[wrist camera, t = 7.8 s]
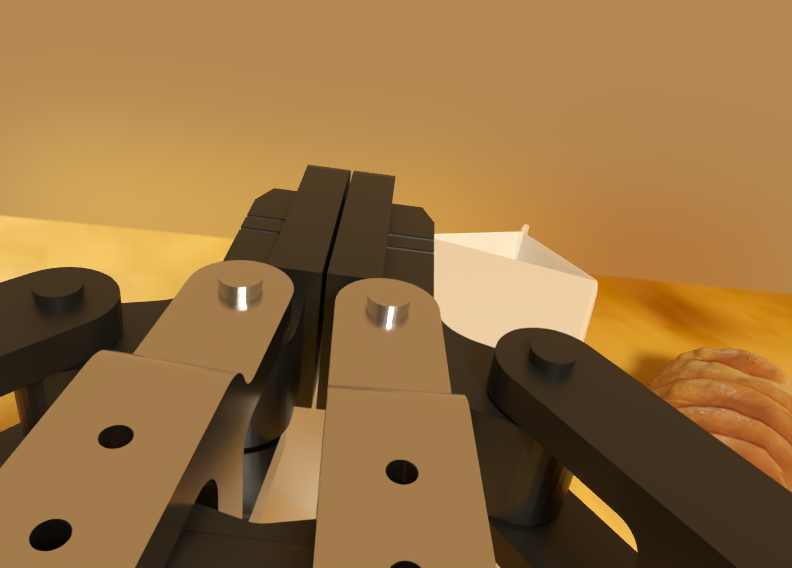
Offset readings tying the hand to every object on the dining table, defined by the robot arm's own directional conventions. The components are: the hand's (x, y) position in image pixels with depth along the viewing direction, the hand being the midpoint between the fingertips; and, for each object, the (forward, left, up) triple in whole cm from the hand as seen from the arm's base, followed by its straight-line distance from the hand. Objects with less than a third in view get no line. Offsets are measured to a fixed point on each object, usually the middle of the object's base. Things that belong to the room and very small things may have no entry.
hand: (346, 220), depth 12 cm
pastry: (+16, +12, -15) cm, 25 cm away
